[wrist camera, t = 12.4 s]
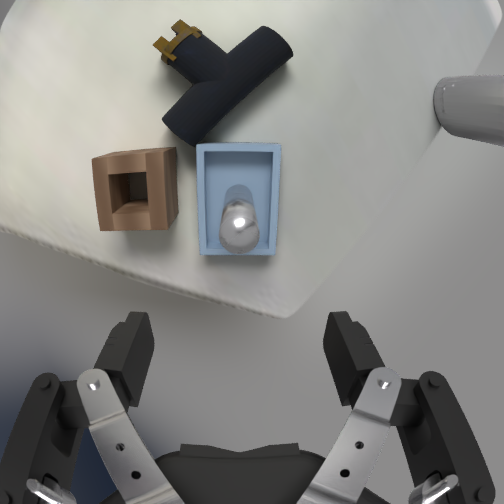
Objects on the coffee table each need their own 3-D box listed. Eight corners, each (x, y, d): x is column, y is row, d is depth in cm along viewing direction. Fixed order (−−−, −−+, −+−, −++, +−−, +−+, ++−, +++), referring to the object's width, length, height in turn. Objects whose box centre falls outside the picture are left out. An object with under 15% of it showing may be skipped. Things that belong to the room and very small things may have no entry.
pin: (252, 184, 33) (260, 216, 22) (251, 210, 34) (259, 254, 23) (224, 184, 32) (218, 216, 22) (225, 210, 34) (219, 254, 23)
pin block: (175, 147, 31) (163, 151, 26) (178, 212, 35) (167, 229, 29) (113, 152, 31) (91, 158, 25) (119, 214, 34) (100, 231, 29)
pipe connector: (115, 82, 23) (218, -14, 19) (131, 87, 28) (220, 3, 24) (191, 148, 27) (297, 51, 23) (197, 144, 32) (288, 61, 28)
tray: (277, 143, 32) (281, 145, 29) (272, 245, 37) (275, 255, 34) (199, 142, 31) (196, 144, 28) (202, 244, 37) (200, 255, 34)
